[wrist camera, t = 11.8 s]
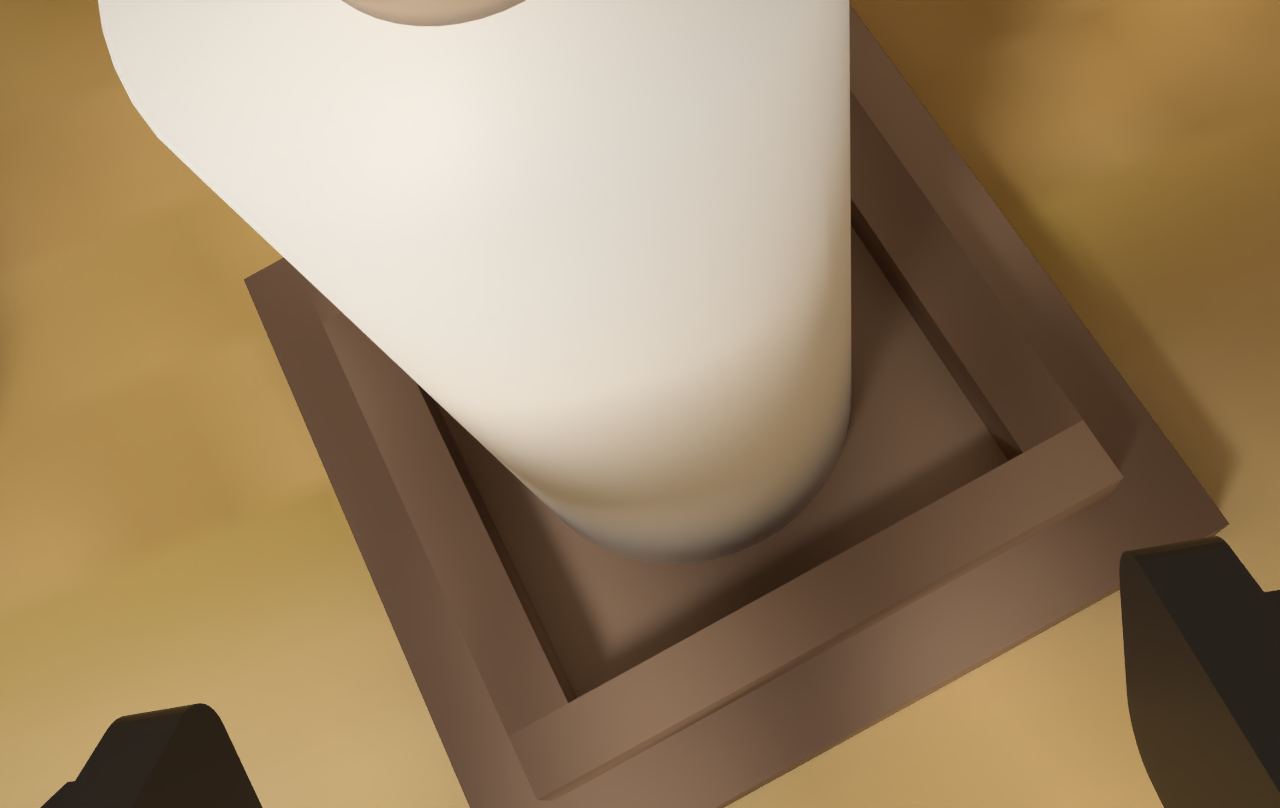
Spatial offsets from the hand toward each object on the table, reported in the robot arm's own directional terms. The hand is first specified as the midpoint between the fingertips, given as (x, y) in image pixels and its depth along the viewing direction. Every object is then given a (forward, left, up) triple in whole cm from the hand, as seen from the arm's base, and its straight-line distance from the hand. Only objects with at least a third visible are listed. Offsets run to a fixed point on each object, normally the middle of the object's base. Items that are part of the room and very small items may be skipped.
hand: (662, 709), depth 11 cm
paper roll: (+2, +5, -8) cm, 10 cm away
